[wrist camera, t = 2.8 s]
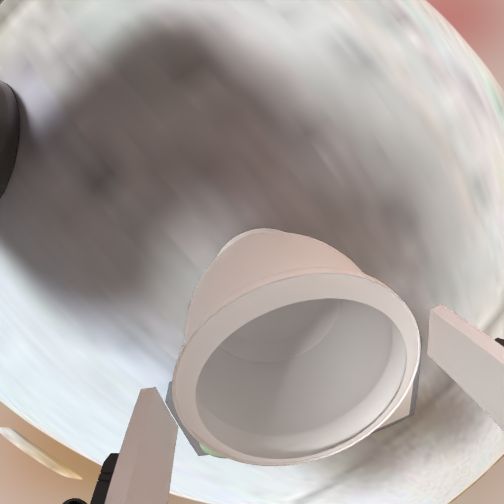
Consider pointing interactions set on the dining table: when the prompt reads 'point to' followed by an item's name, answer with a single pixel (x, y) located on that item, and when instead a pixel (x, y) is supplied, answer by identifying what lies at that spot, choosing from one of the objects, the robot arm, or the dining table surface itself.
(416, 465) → the dining table surface
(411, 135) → the dining table surface
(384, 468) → the dining table surface
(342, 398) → the jar
